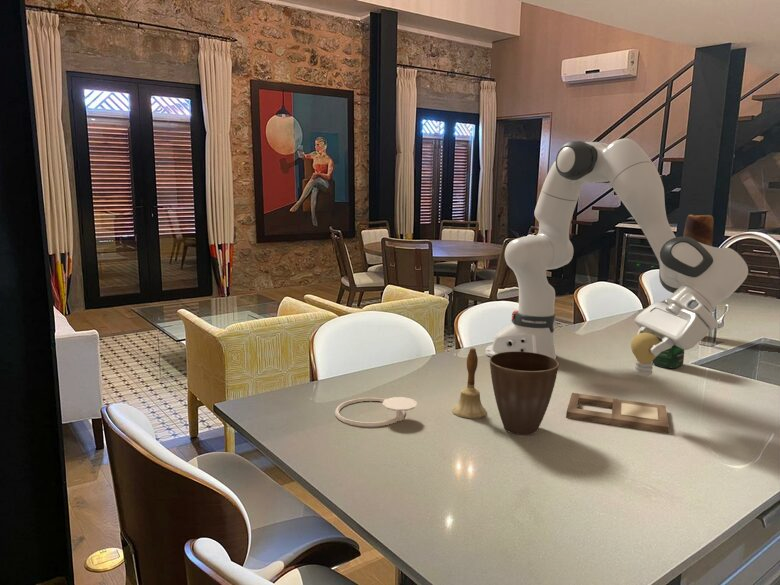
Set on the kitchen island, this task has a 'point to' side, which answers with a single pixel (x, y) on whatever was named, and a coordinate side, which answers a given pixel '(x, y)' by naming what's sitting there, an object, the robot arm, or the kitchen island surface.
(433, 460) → the kitchen island surface
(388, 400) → the hand towel holder
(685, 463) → the kitchen island surface
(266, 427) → the kitchen island surface
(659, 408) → the socket board
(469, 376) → the hand bell
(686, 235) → the wafer roll
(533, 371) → the plant pot
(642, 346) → the light bulb
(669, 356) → the coffee jar
